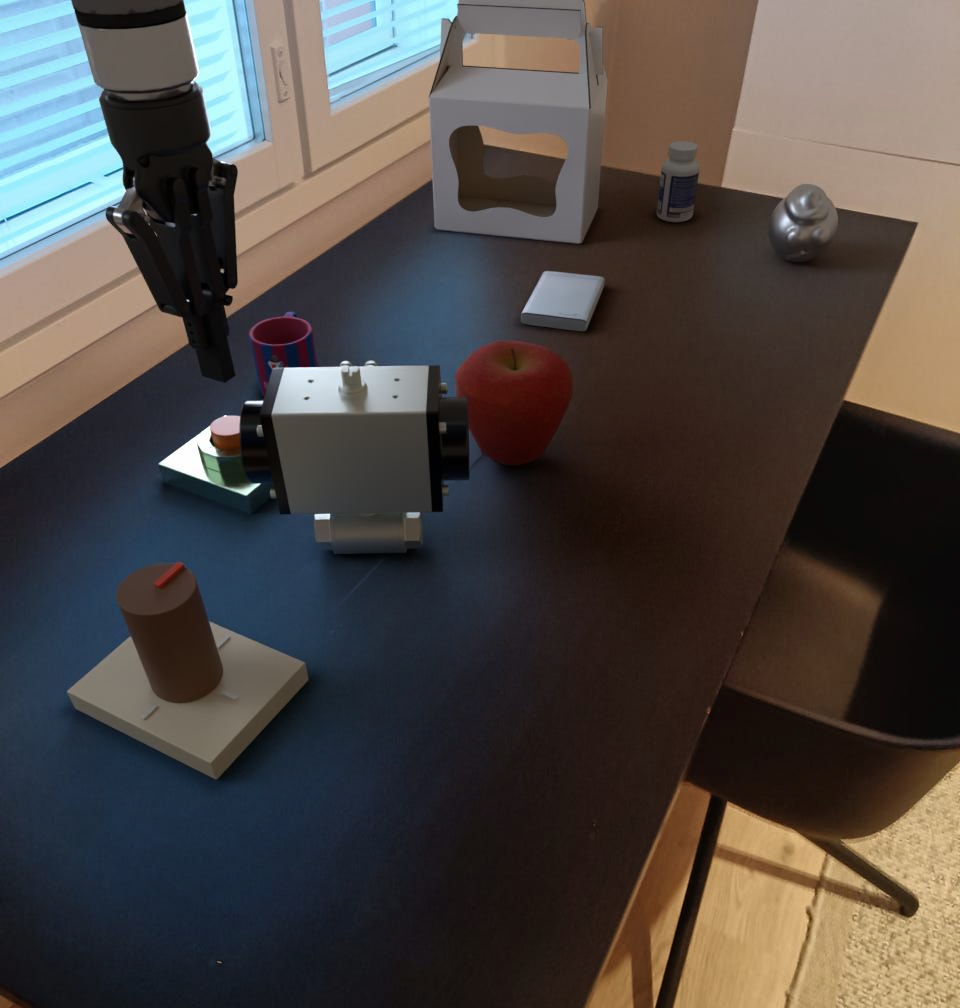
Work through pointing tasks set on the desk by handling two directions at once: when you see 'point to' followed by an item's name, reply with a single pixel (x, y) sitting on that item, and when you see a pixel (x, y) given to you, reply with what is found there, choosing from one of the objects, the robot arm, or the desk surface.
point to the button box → (213, 474)
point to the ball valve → (357, 450)
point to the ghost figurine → (803, 224)
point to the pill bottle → (678, 182)
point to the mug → (281, 346)
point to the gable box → (517, 124)
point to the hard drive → (563, 301)
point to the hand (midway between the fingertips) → (218, 375)
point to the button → (226, 432)
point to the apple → (514, 398)
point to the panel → (200, 723)
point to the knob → (171, 631)
